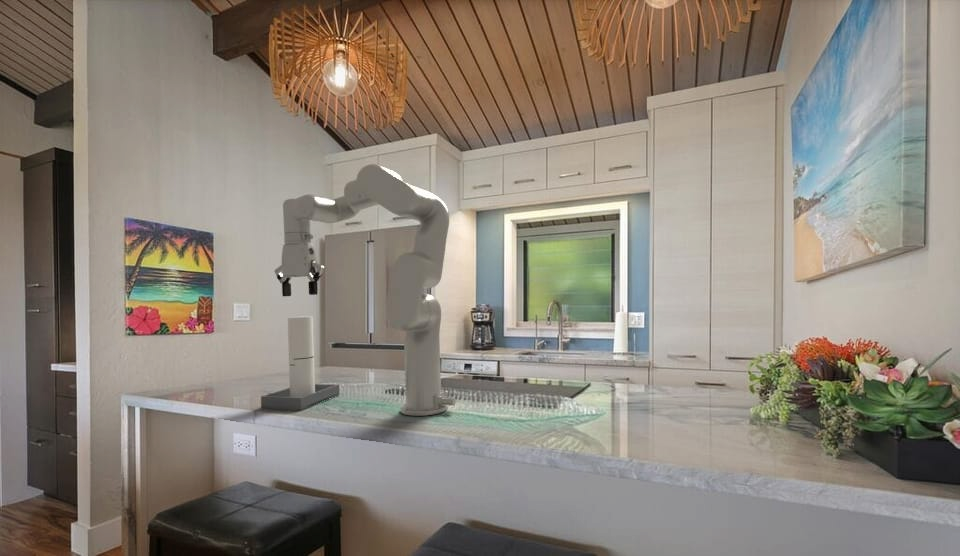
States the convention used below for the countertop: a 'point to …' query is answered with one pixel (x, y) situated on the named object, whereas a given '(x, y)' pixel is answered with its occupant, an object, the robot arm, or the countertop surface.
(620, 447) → the countertop surface
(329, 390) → the charcoal tray
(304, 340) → the cylindrical container
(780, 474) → the countertop surface
